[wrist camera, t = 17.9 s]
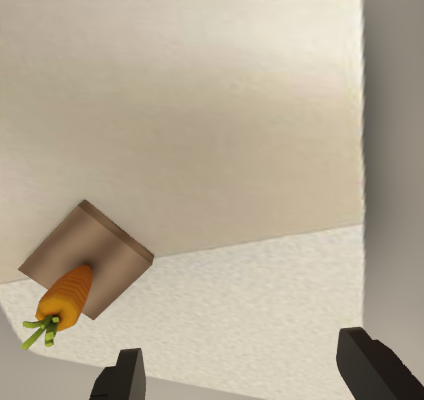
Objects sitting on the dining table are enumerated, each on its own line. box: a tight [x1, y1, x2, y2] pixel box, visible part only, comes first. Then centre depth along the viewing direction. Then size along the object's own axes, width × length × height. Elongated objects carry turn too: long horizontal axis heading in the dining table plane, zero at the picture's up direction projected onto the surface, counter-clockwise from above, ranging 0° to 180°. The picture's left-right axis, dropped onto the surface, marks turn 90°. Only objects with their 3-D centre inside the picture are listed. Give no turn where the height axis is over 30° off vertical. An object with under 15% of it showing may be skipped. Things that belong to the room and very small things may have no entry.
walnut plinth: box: [18, 200, 154, 320], centre depth 43 cm, size 14×14×3 cm
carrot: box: [21, 265, 93, 350], centre depth 35 cm, size 5×5×15 cm
